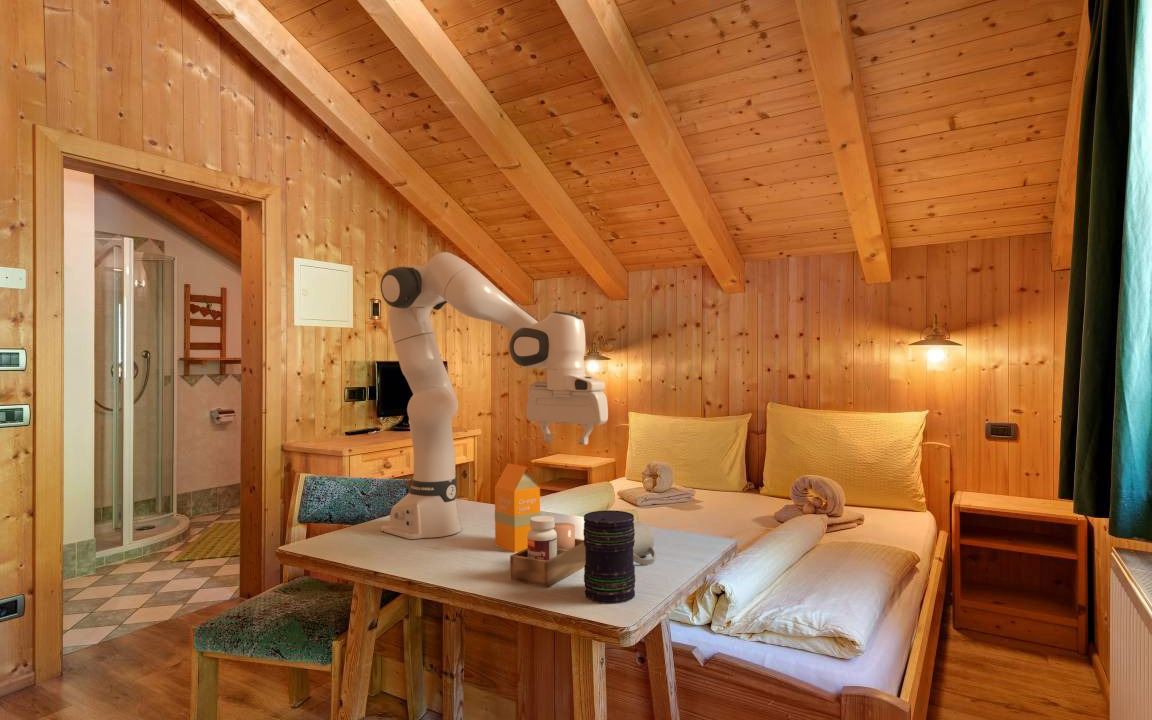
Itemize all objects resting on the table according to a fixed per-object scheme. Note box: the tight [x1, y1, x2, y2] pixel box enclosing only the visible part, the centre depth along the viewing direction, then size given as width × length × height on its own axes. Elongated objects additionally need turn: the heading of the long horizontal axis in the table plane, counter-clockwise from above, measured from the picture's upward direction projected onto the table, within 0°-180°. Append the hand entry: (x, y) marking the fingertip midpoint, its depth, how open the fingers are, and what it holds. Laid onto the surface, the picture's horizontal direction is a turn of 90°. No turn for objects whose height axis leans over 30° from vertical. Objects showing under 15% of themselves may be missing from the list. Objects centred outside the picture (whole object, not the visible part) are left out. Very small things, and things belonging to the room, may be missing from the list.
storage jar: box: [582, 509, 636, 605], centre depth 119 cm, size 10×10×15 cm
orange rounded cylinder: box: [552, 522, 576, 550], centre depth 137 cm, size 6×6×8 cm
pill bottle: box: [527, 515, 557, 561], centre depth 130 cm, size 6×6×11 cm
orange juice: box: [494, 462, 541, 554], centre depth 153 cm, size 8×9×20 cm
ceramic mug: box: [633, 521, 657, 566], centre depth 141 cm, size 11×8×8 cm
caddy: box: [509, 538, 586, 588], centre depth 133 cm, size 9×18×5 cm, turn 150°
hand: (565, 442), depth 142 cm, fingers open, 8 cm apart
